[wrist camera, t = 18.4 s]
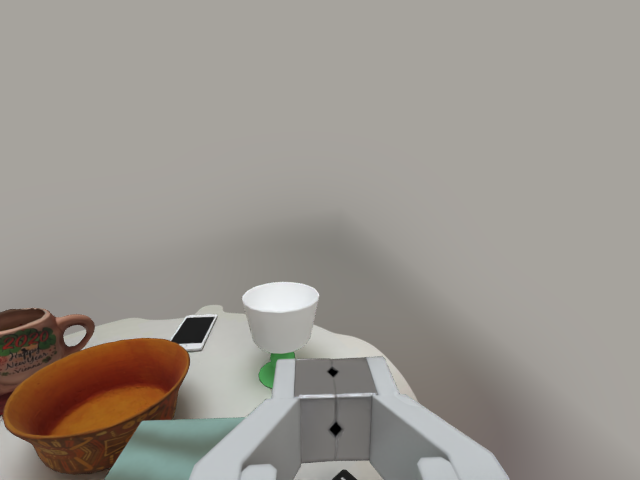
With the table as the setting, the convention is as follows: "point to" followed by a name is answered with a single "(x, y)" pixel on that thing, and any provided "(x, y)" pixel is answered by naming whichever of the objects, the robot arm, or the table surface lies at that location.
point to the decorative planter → (33, 344)
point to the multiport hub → (344, 476)
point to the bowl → (96, 401)
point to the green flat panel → (169, 448)
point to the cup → (280, 320)
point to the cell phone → (194, 331)
